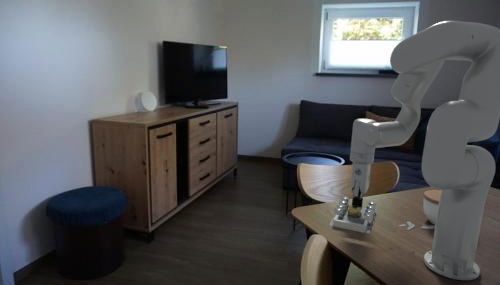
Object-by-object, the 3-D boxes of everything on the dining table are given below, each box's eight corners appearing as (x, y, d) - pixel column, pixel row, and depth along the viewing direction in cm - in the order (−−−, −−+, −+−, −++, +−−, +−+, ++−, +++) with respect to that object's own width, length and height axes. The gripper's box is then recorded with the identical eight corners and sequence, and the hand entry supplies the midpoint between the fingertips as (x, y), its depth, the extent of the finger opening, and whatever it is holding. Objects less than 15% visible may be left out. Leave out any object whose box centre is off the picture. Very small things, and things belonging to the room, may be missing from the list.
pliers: (442, 221, 117) (418, 234, 108) (442, 226, 117) (418, 238, 108) (413, 211, 124) (388, 222, 115) (412, 215, 125) (388, 226, 116)
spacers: (370, 226, 112) (371, 217, 112) (333, 218, 117) (334, 210, 116) (375, 210, 124) (376, 202, 124) (341, 204, 129) (342, 196, 128)
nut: (358, 219, 117) (359, 210, 117) (346, 216, 119) (346, 207, 118) (361, 214, 121) (362, 206, 120) (349, 212, 122) (349, 203, 122)
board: (368, 236, 107) (369, 227, 107) (328, 228, 112) (329, 219, 112) (376, 212, 125) (377, 204, 125) (341, 206, 130) (342, 198, 129)
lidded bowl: (470, 233, 112) (476, 199, 109) (426, 229, 114) (431, 195, 111) (455, 216, 124) (460, 185, 121) (416, 213, 126) (420, 182, 123)
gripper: (370, 163, 111) (364, 219, 115) (376, 153, 124) (371, 203, 128) (345, 160, 114) (340, 214, 118) (354, 150, 127) (349, 199, 131)
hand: (356, 208), depth 123 cm, fingers closed
